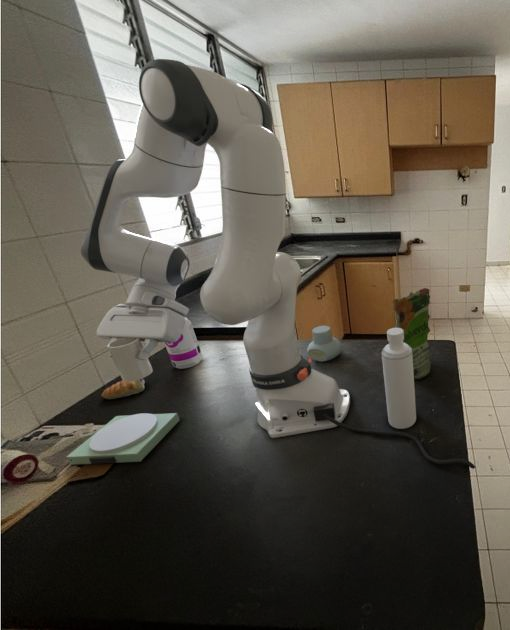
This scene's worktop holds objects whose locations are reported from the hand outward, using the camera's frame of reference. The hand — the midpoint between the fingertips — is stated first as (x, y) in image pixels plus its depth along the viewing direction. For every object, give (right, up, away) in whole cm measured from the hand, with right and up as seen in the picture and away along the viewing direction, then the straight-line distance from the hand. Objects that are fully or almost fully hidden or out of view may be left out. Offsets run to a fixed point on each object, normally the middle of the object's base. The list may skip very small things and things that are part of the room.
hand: (127, 358), depth 78 cm
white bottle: (+64, -15, +2) cm, 66 cm away
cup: (0, -4, +3) cm, 5 cm away
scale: (+1, -19, -1) cm, 19 cm away
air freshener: (+37, -4, +32) cm, 49 cm away
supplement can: (-8, -6, +32) cm, 33 cm away
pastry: (-15, -12, +18) cm, 27 cm away
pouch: (+66, -7, +22) cm, 70 cm away
